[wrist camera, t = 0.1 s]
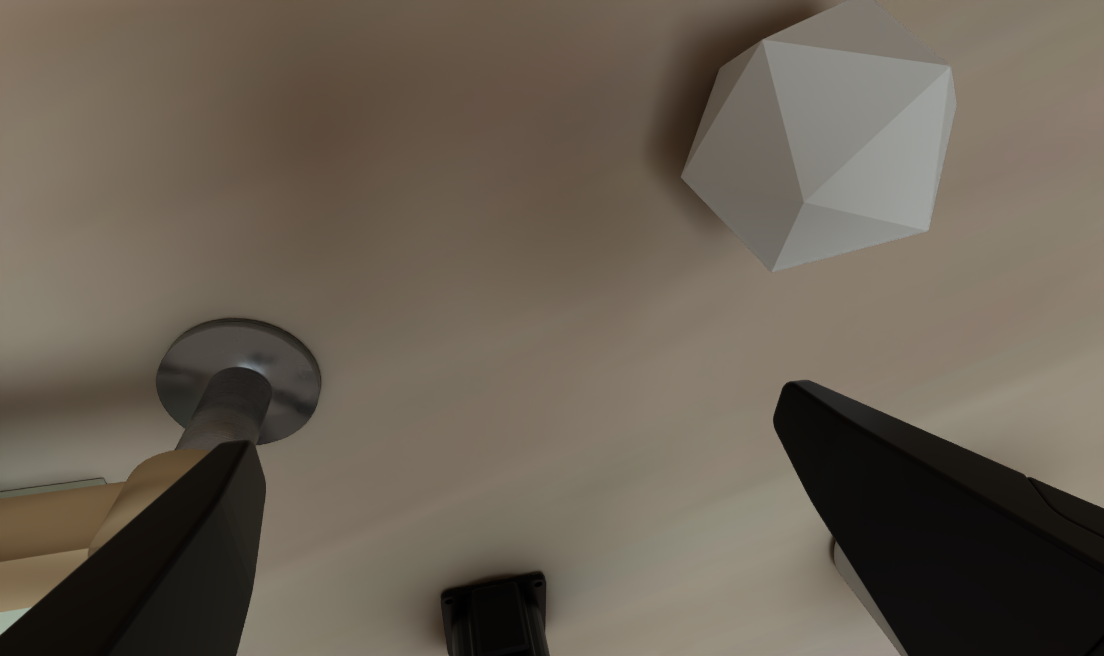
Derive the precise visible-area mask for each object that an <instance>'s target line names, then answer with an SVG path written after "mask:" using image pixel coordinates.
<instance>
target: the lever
mask: <svg viewBox="0 0 1104 656" xmlns="http://www.w3.org/2000/svg"><path fill="white" fill-rule="evenodd" d="M209 452H210V450H202V449H181V450H174V451H168V452H165V453H161V454H158V455H156V456H153V457H151V458H149V459H147V460H145V461H144V462H142V463H141V464H140V465H138V466H137V467H136V468H135V469H134V470H133V472H132V473H131V474H130V476H129V477H128V479H127V481H126V482H119V483H111V484H104V485H97V486H90V487H82V488H75V489H68V490H60V491H53V492H46V493H38V494H31V495H24V496H16V497H9V498H2V499H0V612H6V611H12V610H18V609H24V608H29V607H33V606H34V605H35V604H36V603H37V602H38V601H40V600H41V599H42V598H43V597H44V596H45V595H46V594H48V593H49V592H50V591H51V590H52V589H53V588H54V587H56V586H57V585H58V584H59V583H60V582H61V581H62V580H64V579H65V578H66V577H67V576H68V575H69V574H70V573H72V572H73V571H74V570H75V569H76V568H77V567H79V566H80V565H81V564H82V563H83V562H84V561H85V560H87V559H88V558H89V557H90V556H91V555H92V554H93V553H95V552H96V551H97V550H98V549H99V548H100V547H101V546H103V545H104V544H105V543H106V542H107V541H108V540H109V539H111V538H112V537H113V536H114V535H115V534H116V533H117V532H119V531H120V530H121V529H122V528H123V527H124V526H125V525H127V524H128V523H129V522H130V521H131V520H132V519H133V518H135V517H136V516H137V515H138V514H139V513H140V512H141V511H143V510H144V509H145V508H146V507H147V506H148V505H149V504H151V503H152V502H153V501H154V500H155V499H156V498H157V497H159V496H160V495H161V494H162V493H163V492H164V491H165V490H167V489H168V488H169V487H170V486H171V485H172V484H173V483H175V482H176V481H177V480H178V479H179V478H180V477H181V476H183V475H184V474H185V473H186V472H187V471H188V470H190V469H191V468H192V467H193V466H194V465H195V464H196V463H198V462H199V461H200V460H201V459H202V458H203V457H204V456H206V455H207V454H208V453H209Z"/></svg>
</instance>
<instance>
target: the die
mask: <svg viewBox="0 0 1104 656" xmlns="http://www.w3.org/2000/svg"><path fill="white" fill-rule="evenodd" d="M955 109H956V99H955V92H954V85H953V78H952V71H951V66H950V65H949V64H948V63H947V62H946V61H944V60H943V59H942V58H941V57H940V56H939V55H937V54H936V53H935V52H934V51H933V50H932V49H930V48H929V47H928V46H927V45H926V44H925V43H923V42H922V41H921V40H920V39H919V38H918V37H916V36H915V35H914V34H913V33H912V32H911V31H909V30H908V29H907V28H906V27H905V26H904V25H903V24H901V23H900V22H899V21H898V20H897V19H896V18H894V17H893V16H892V15H891V14H890V13H889V12H887V11H886V10H885V9H884V8H883V7H882V6H880V5H879V4H878V3H877V2H876V1H875V0H847V1H845V2H843V3H840V4H838V5H836V6H834V7H832V8H830V9H827V10H825V11H823V12H821V13H819V14H817V15H814V16H812V17H810V18H808V19H806V20H804V21H801V22H799V23H797V24H795V25H793V26H791V27H788V28H786V29H784V30H782V31H780V32H778V33H775V34H773V35H771V36H769V37H767V38H764V39H762V40H761V41H759V42H758V43H756V44H755V45H753V46H752V47H750V48H749V49H747V50H746V51H744V52H743V53H741V54H740V55H738V56H737V57H735V58H734V59H732V60H731V61H729V62H728V63H726V64H725V65H723V66H722V67H720V69H719V72H718V74H717V77H716V80H715V83H714V86H713V88H712V91H711V94H710V97H709V100H708V102H707V105H706V108H705V111H704V114H703V116H702V119H701V122H700V125H699V128H698V130H697V133H696V136H695V139H694V142H693V144H692V147H691V150H690V153H689V156H688V158H687V161H686V164H685V167H684V169H683V172H682V175H681V178H682V179H683V180H684V181H685V182H686V183H687V184H688V185H689V187H690V188H691V189H692V190H693V191H694V192H695V193H696V194H697V195H698V196H699V197H700V198H701V199H702V200H703V201H704V202H705V203H706V204H707V205H708V206H709V208H710V209H711V210H712V211H713V212H714V213H715V214H716V215H717V216H718V217H719V218H720V219H721V220H722V221H723V222H724V223H725V224H726V225H727V226H728V227H729V229H730V230H731V231H732V232H733V233H734V234H735V235H736V236H737V237H738V238H739V239H740V240H741V241H742V242H743V243H744V244H745V245H746V246H747V247H748V248H749V250H750V251H751V252H752V253H753V254H754V255H755V256H756V257H757V258H758V259H759V260H760V261H761V262H762V263H763V264H764V265H765V266H766V267H767V268H768V269H769V271H770V272H775V271H779V270H783V269H787V268H790V267H794V266H798V265H802V264H805V263H809V262H813V261H817V260H821V259H824V258H828V257H832V256H836V255H839V254H843V253H847V252H851V251H855V250H858V249H862V248H866V247H870V246H873V245H877V244H881V243H885V242H888V241H892V240H896V239H900V238H904V237H907V236H911V235H915V234H919V233H922V232H926V231H928V230H929V225H930V221H931V216H932V212H933V208H934V203H935V199H936V194H937V190H938V185H939V181H940V176H941V172H942V167H943V163H944V158H945V154H946V149H947V145H948V140H949V136H950V132H951V127H952V123H953V118H954V114H955Z"/></svg>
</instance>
